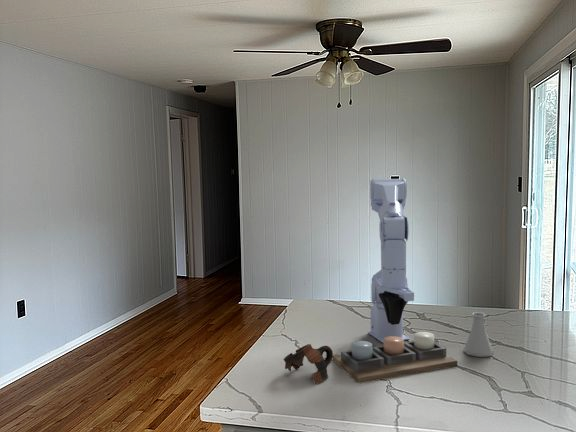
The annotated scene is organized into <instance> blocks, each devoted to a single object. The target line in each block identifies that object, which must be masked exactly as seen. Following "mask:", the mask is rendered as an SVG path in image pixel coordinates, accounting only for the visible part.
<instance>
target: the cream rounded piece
mask: <svg viewBox="0 0 576 432" xmlns="http://www.w3.org/2000/svg"><path fill="white" fill-rule="evenodd" d="M413 341H414V347H415V348H417V349H418V350H420V351H423V350H429V349H434V342H435V334H433V333H432V332H429V331H418V332H415V333H413Z"/></svg>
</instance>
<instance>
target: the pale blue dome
mask: <svg viewBox="0 0 576 432" xmlns="http://www.w3.org/2000/svg"><path fill="white" fill-rule="evenodd" d="M372 347H373V344H372V342H370V341H366V340H357V341H353V342H352V343H351V350H352V358H353V359H354V360H356V361H362V360H368V359H372Z"/></svg>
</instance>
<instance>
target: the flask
mask: <svg viewBox="0 0 576 432" xmlns="http://www.w3.org/2000/svg"><path fill="white" fill-rule="evenodd" d="M471 316H472V325H471V330H470V332H469V335H468V338H467V340H466V342H465V345H464V348H463V350H462V351H463V353H465V354H466V355H468V356H472V357H478V358H480V357H481V358H485V357H492V356H493V354H494V350H493V347H492V345H491V342H490V339H489V336H488V333H487V330H486V326H485V324H486V323H485V317H486V314H485V313H484V312H472V314H471Z"/></svg>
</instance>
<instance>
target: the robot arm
mask: <svg viewBox="0 0 576 432" xmlns="http://www.w3.org/2000/svg"><path fill="white" fill-rule="evenodd" d="M407 187H408V186H407V180H406V178H404V177H402V178H377V179H376V178H372V179H371V180H370V182H369V193H370V196H369V197H370V206H371V210H372V211H374V212H375V213H377V215H378V217H379V225H378V227H379V240H380V270H379V271H377V272H376V273H375V274H372V277H371V285H370V289H371V291H370V293H371V294H370V295H371V297H370V298H371V303H372V307H371V308H370V330H368V331H367V333H368V335H371V337H373V338H375V339H377V340H378V341H379V342H381V343H382V344H384V338H385V337H389V336H396V337H400V338H403V339H404V341H407V340H408V341H409V340H410V337H409V336H408V335H405V334H404V310H405V307H406V306H407V304H408V303H409V302H414V301H415V292H414V291H412V290H411V289H410V287H409V285H408V278H407V242H408V240H409V235H410V234H409V232H410V229H409V220H408V216H406V215H405V213H404V210H405V206H406V202H407V201H406V200H407V196H408V195H407V192H408V191H407V190H408V189H407Z"/></svg>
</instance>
